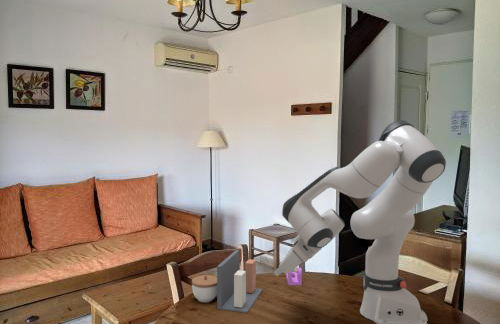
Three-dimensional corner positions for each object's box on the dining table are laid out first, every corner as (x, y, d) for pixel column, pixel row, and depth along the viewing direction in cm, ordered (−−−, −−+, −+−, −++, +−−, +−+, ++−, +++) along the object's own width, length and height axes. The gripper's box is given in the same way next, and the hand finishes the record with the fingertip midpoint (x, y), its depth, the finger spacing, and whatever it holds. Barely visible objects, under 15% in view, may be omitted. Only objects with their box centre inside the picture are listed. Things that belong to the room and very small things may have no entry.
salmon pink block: (255, 288, 164) (255, 259, 163) (252, 293, 159) (252, 263, 159) (248, 287, 165) (248, 259, 164) (245, 292, 160) (245, 262, 159)
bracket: (301, 285, 171) (301, 269, 170) (288, 285, 171) (288, 269, 170) (297, 274, 184) (297, 259, 183) (285, 274, 184) (285, 259, 183)
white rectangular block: (245, 302, 151) (245, 271, 150) (241, 307, 146) (241, 275, 145) (238, 301, 152) (238, 270, 151) (234, 306, 147) (234, 274, 146)
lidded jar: (225, 299, 156) (225, 275, 156) (204, 307, 148) (204, 282, 148) (207, 291, 164) (206, 269, 163) (186, 299, 156) (185, 275, 155)
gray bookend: (262, 290, 165) (262, 252, 164) (247, 312, 144) (247, 269, 143) (236, 287, 168) (236, 249, 167) (217, 308, 147) (217, 266, 146)
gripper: (303, 232, 151) (278, 255, 154) (294, 246, 131) (265, 272, 135) (315, 244, 150) (289, 267, 153) (307, 261, 130) (278, 287, 134)
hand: (278, 270), depth 144 cm, fingers open, 7 cm apart
